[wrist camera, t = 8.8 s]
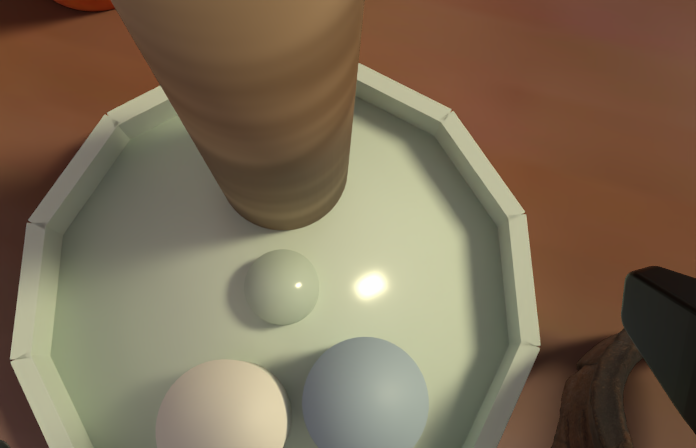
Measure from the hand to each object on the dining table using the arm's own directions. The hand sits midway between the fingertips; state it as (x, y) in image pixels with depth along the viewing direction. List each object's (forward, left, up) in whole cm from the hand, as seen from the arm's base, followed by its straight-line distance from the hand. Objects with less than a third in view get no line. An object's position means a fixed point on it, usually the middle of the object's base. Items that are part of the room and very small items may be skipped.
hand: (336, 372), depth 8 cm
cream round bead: (-1, +3, -10) cm, 11 cm away
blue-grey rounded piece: (-1, -1, -10) cm, 11 cm away
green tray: (+3, +2, -11) cm, 12 cm away
